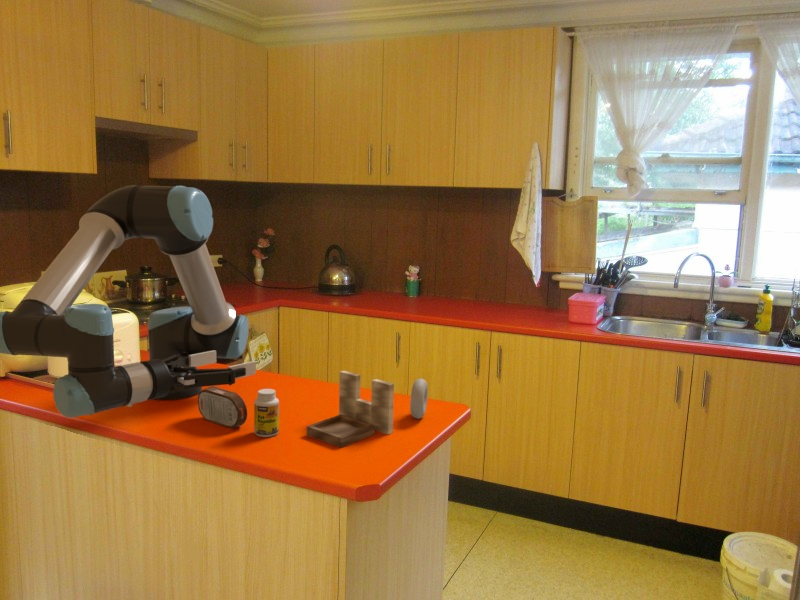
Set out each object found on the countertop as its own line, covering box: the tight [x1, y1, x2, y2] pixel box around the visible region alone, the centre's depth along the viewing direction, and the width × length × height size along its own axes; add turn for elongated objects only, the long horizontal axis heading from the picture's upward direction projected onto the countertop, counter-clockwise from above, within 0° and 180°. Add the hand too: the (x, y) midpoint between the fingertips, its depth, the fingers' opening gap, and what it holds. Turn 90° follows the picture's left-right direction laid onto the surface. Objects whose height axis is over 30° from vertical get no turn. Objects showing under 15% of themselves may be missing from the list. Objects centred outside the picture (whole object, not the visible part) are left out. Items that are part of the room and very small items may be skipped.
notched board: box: [338, 370, 395, 435], centre depth 157 cm, size 16×2×12 cm, turn 51°
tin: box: [197, 386, 248, 429], centre depth 156 cm, size 15×3×8 cm, turn 56°
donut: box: [409, 378, 429, 419], centre depth 164 cm, size 10×4×10 cm, turn 170°
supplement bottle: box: [253, 388, 280, 438], centre depth 150 cm, size 6×6×10 cm
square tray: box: [306, 414, 375, 448], centre depth 152 cm, size 11×11×2 cm
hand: (234, 361), depth 141 cm, fingers open, 13 cm apart
